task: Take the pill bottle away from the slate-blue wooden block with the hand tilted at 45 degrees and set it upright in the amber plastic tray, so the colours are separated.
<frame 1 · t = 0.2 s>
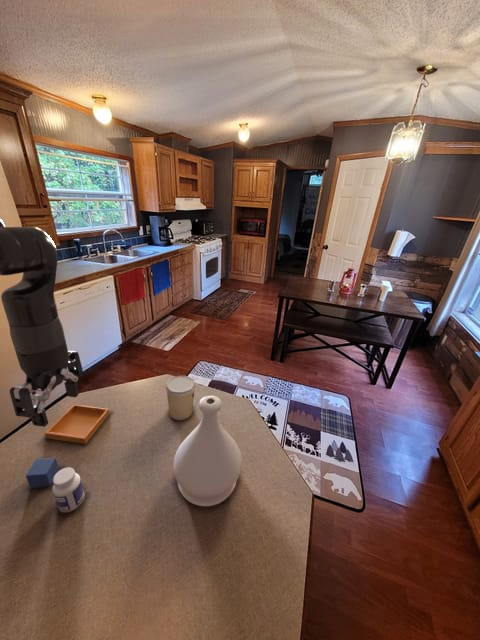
hand: (58, 409, 53), 24 cm above the kitchen counter, tool pointing down, fingers open, 8 cm apart
vase: (207, 475, 67), on the kitchen counter
cream upright cylinder: (181, 412, 88), on the kitchen counter
amber tray: (80, 424, 79), on the kitchen counter
pill bottle: (71, 501, 59), on the kitchen counter
blue block: (45, 478, 63), on the kitchen counter
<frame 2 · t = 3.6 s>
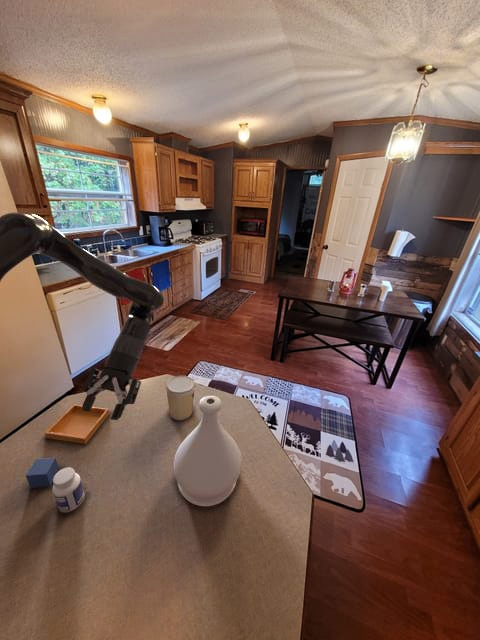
hand: (99, 415, 63), 16 cm above the kitchen counter, tool tilted 45°, fingers open, 8 cm apart
nothing on the kitchen counter moved.
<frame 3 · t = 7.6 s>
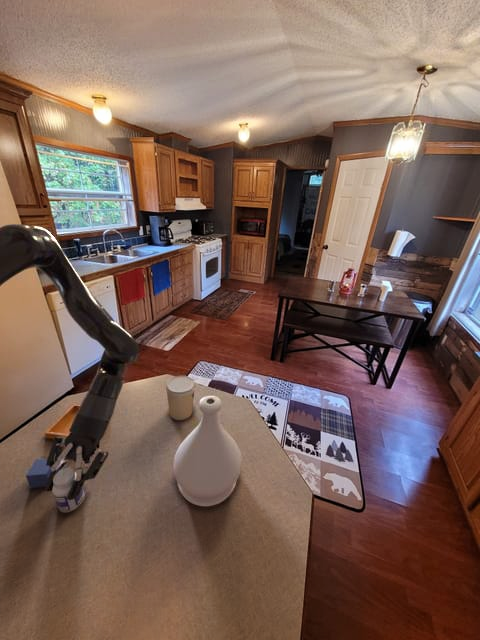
hand: (60, 494, 56), 5 cm above the kitchen counter, tool tilted 45°, fingers closed on pill bottle, 5 cm apart
pill bottle: (71, 501, 59), on the kitchen counter, touching gripper
everything else where it was.
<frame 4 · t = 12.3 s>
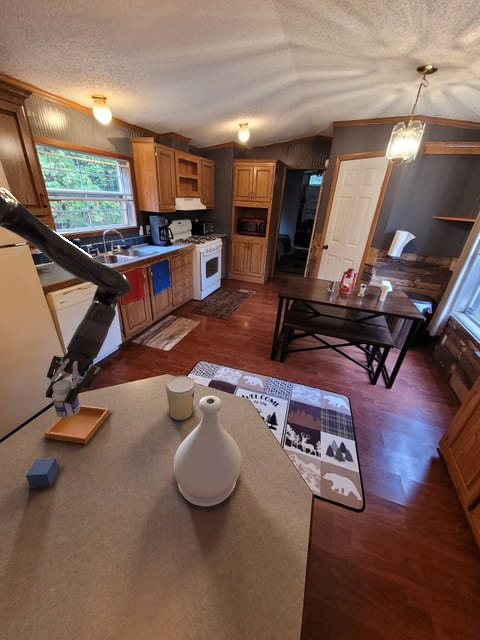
hand: (58, 400, 64), 18 cm above the kitchen counter, tool tilted 45°, fingers closed on pill bottle, 5 cm apart
pill bottle: (69, 411, 68), point 13 cm above the kitchen counter, touching gripper
everything else where it was.
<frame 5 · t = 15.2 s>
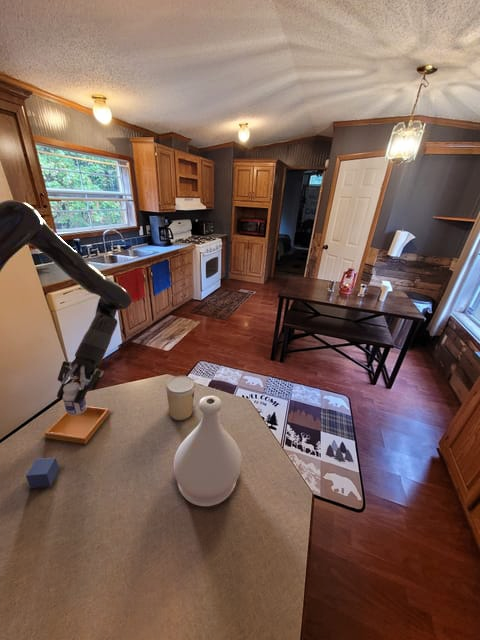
hand: (68, 400, 73), 11 cm above the kitchen counter, tool tilted 45°, fingers closed on pill bottle, 5 cm apart
pill bottle: (77, 410, 77), point 6 cm above the kitchen counter, touching gripper
everything else where it was.
when the fingers open (6 cm above the kitchen counter, at t = 17.2 s): pill bottle stays where it is, resting on amber tray.
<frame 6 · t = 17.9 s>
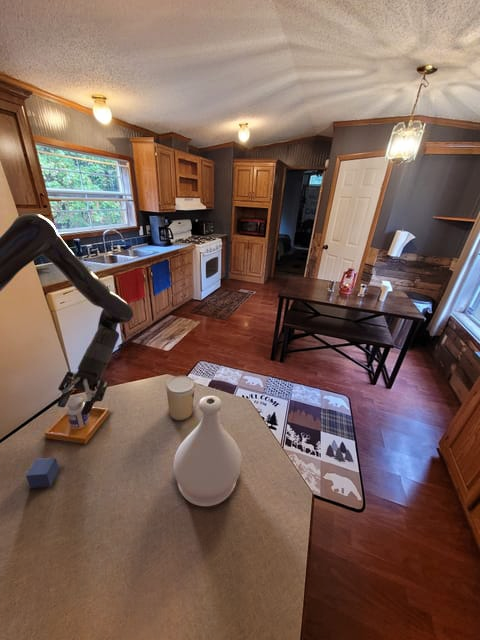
hand: (72, 410, 75), 7 cm above the kitchen counter, tool tilted 45°, fingers open, 8 cm apart
pill bottle: (80, 423, 79), resting on amber tray
everything else where it was.
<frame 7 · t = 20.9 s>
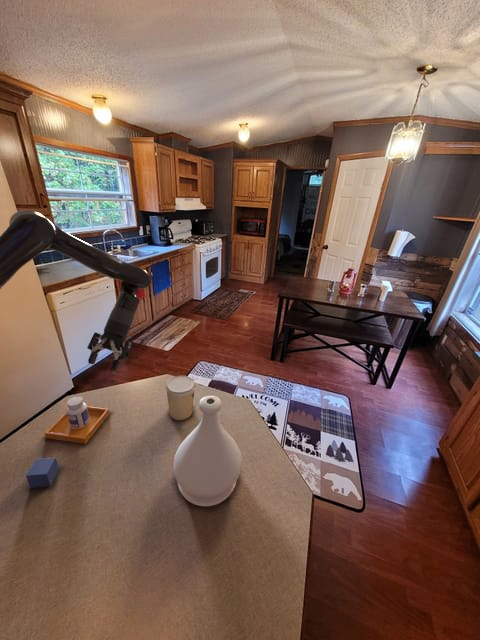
hand: (101, 367, 84), 14 cm above the kitchen counter, tool tilted 35°, fingers open, 8 cm apart
nothing on the kitchen counter moved.
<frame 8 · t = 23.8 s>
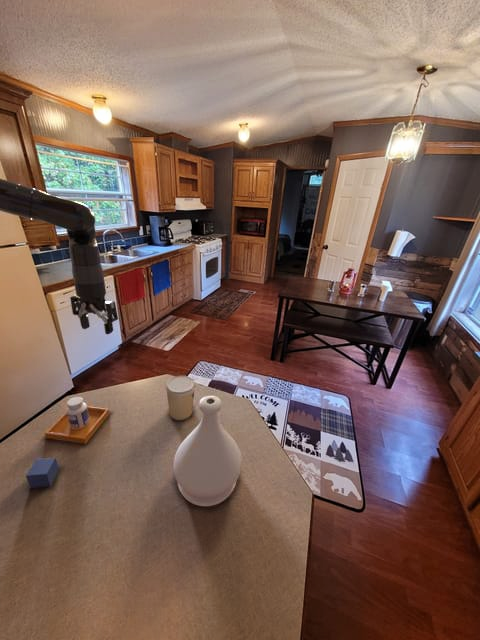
hand: (97, 330, 78), 28 cm above the kitchen counter, tool pointing down, fingers open, 8 cm apart
nothing on the kitchen counter moved.
at the end: pill bottle inside the target area in the amber tray (0.2 cm from its centre), point 0.3 cm above the amber tray's base; pill bottle tilted 0°; blue block moved 0.0 cm from its start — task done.
